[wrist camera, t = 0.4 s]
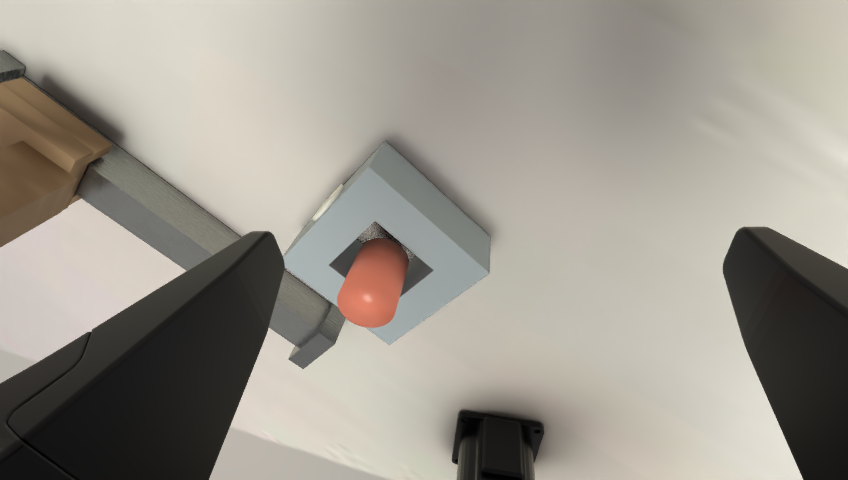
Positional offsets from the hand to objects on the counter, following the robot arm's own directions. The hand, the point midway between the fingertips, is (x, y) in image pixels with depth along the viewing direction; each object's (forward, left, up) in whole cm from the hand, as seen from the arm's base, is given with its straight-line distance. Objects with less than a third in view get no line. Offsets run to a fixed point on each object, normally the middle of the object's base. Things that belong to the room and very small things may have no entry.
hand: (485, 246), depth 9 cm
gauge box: (-9, +5, -14) cm, 17 cm away
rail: (-9, +18, -14) cm, 25 cm away
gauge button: (-9, +5, -11) cm, 15 cm away
